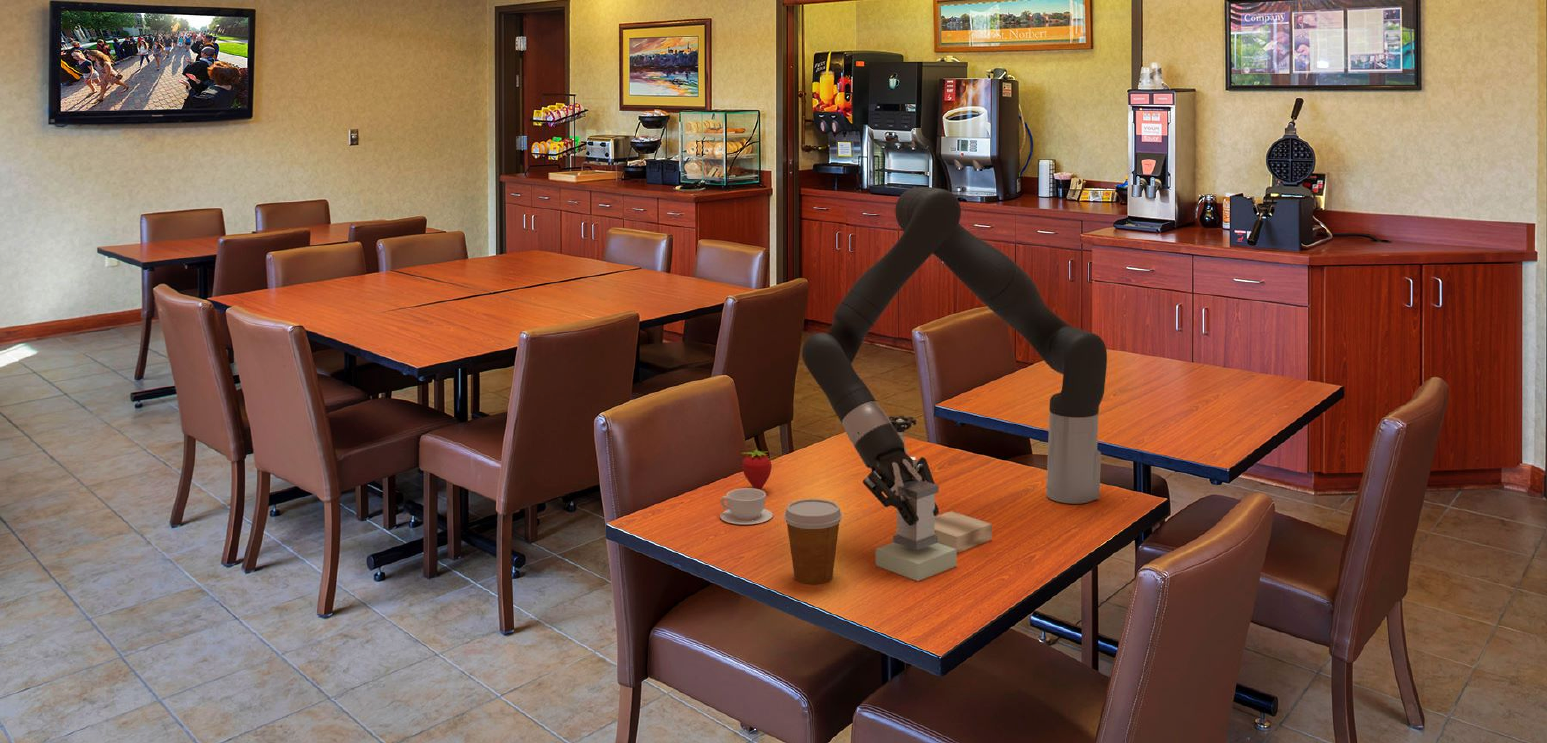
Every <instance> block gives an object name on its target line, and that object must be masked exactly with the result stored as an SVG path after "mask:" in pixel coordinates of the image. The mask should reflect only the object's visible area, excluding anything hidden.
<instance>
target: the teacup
mask: <svg viewBox="0 0 1547 743" xmlns="http://www.w3.org/2000/svg"><path fill="white" fill-rule="evenodd" d="M766 498H767V494H766V492H765V491H764V490H762V489H761V490H759V489H754V488H753V487H751V488H750V487H749V488H748V487H745V488H743V487H742V488H736V489H732V490H730V491H728V492H727V493H726V495H723V496H722V497H721V499H720V504H721V506H722V507H723V508H724V509H726V510H724V511H723V512H721V513H720V515H719V517H720V519H721V520H722V521H724V522H726V523H728V524H732V525H733V524H734V525H755V524H762V523H764V522H767V521H769V520H771V519H772V518H773V516H774V515H773V514H774V513H773V512H772V511H771V510H769V509H767V508H765V505H766ZM724 500H726V502H727V504H726V503H725V502H724ZM759 515H760V516H759ZM752 520H753V521H752Z"/></svg>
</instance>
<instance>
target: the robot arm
mask: <svg viewBox="0 0 1547 743" xmlns="http://www.w3.org/2000/svg"><path fill="white" fill-rule="evenodd" d="M961 209H962V208H961V203H960V201H959V200H958V198H957V197H956V195H955V194H953V193H952V192H950V191H949V190H947V189H942V188H939V187H936V188H935V187H928V186H927V187H926V186H921V187H920V186H918V187H914V188H910V189H907V190H905V191H904V192H902V193H901V195H900V196H899V197H898V198H897V200H896V203H895V209H894V210H895V212H894V213H895V218H896V222H897V225H898V226H899V227H900V229H901V230H902V232H903V233H902V235H901V236H900V237H899V239H898V240H897V241H896V243H894V245H893V246H892V247H891V248H890V249H889V250H888V251H887V252H886V253H885V255H883V256H882V257H881V258H880V259H879V260H878V261H876V262H875V263H874V264H873V265H872V266H871V267H869V268H868V269H867V270H866V271H865V272H864V273H863V274H862V275H861V276H860V277H859V278H858V279H857V280H856V281H855V282H854V283H853V284H852V286H851V287H850V289H849V290H848V291H847V293H846V294H845V295H844V297H843V298H842V300H841V301H840V303H839V304H838V305H837V307H836V308H835V310H834V312H833V316H832V319H833V320H832V321H833V322H832V325H831V327H830V328H829V330H828V332H827V333H824V332H817V333H814V334H812V335H810V336H809V337H808V338H807V339H806V340H805V342H804V344H802V345H803V346H802V349H801V359H802V362H803V363H804V366H806V368H807V370H808V372H809V373H810V375H811V376H812V377H813V379H814V380H815V382H816V383H817V384H818V386H819V387H820V388H821V390H822V392H823V393H824V395H825V396H826V398H827V400H828V402H829V404H830V406H831V407H832V409H833V411H834V413H835V414H836V416H837V418H838V419H839V421H840V423H841V425H842V426H843V428H844V431H845V433H846V435H847V437H848V439H849V440H850V442H851V444H852V445H853V447H854V449H855V451H856V452H857V454H858V455H859V457H860V459H861V460H862V462H863V464H864V465H865V467H866V468H868V469H871V471H870V473H869V474H868V475H867V476H866V477H865V478H864V479H863V480H862V484H863V485H864V486H865V487H866V488H867V489H868V490H869V492H871V494H872V495H873V496H874V497H875V498H876V499H877V500H878V501H879V503H881V505H883V506H884V508H888V507H890V506H891V507H893V508H894V509H896V510H897V509H898V511H899V513H900V514H901V516H902V518H903V519H904V521H905V522H906V523H908V525H909V526H912V525H914V524H915V523H916V522H917V521H918V520H919V518H918V516H917V515H916V513H915V511H914V510H913V508H912V507H911V505H910V503H909V502H908V500H907V501H905V500H906V497H905V495H903V494H902V493H901V491H900V489H899V487H901V486H904V484H903V482H905V481H910V480H912V479H914V481H920V480H922V481H926V482H929V483H932V484H936V483H935V481H934V478H933V476H932V472H931V470H930V467H929V464H928V461H927V459H926V458H925V457H922V456H921V457H920V458H919V459H916V460H912V459H911V457H912V456H910V455H908V453H907V454H906V453H905V450H904V446H905V442H903V441H902V439H901V437H900V436H899V434H898V432H897V431H896V429H895V428H894V426H893V425H892V423H891V421H890V420H889V417H888V415H887V413H886V412H885V410H883V408H882V406H880V405H879V403H878V402H877V400H876V399H875V397H874V396H873V394H872V392H871V391H870V389H869V388H868V386H867V385H866V383H865V382H864V381H863V380H862V378H861V377H860V376H859V375H858V374H857V372H856V371H855V369H854V367H853V365H852V364H853V362H854V360H855V358H856V356H857V354H858V352H859V350H860V348H861V346H862V344H863V342H864V340H865V337H866V335H867V334H868V333H869V332H870V330H871V329H872V328H873V327H874V325H875V324H876V322H877V321H878V320H879V318H880V316H881V315H882V313H883V312H884V311H885V310H886V309H887V307H888V305H889V304H890V303H891V302H892V300H893V299H894V298H895V296H896V295H897V294H898V292H899V291H900V290H901V288H902V287H903V286H904V285H905V284H906V283H907V282H908V280H909V279H910V278H911V277H912V276H913V275H914V273H915V272H916V271H917V270H918V269H919V268H920V267H921V266H922V265H923V264H924V262H926V261H927V260H928V259H929V258H930V257H931V255H932V254H933V255H934V256H935V257H937V258H938V259H939V260H940V261H941V262H942V263H943V264H944V265H945V266H946V267H947V268H948V269H949V270H950V271H951V272H952V273H953V274H954V275H955V276H956V277H957V278H958V280H959V281H960V282H962V283H963V285H965V286H966V287H967V288H968V289H969V290H970V291H971V292H972V293H973V294H974V295H975V296H976V297H977V298H978V300H980V302H982V303H983V304H984V305H985V306H986V307H987V308H988V309H989V310H991V311H992V312H993V313H994V314H995V315H997V316H998V317H999V318H1000V319H1001V320H1002V321H1004V323H1006V324H1007V325H1008V326H1010V327H1011V328H1013V329H1014V330H1015V331H1016V332H1018V333H1019V334H1020V335H1021V336H1022V337H1023V338H1024V339H1025V340H1026V341H1027V342H1028V343H1029V345H1030V346H1031V347H1032V348H1033V350H1035V352H1036V353H1037V354H1038V355H1039V356H1040V357H1041V359H1042V360H1043V361H1044V362H1045V363H1046V365H1047V366H1049V367H1050V369H1052V370H1053V371H1055V372H1057V373H1058V374H1061V375H1063V376H1062V385H1061V391H1060V392H1056V393H1053V395H1051V396H1050V398H1049V412H1048V413H1049V414H1048V415H1049V416H1048V417H1049V418H1048V440H1047V441H1048V442H1047V443H1048V444H1047V468H1046V469H1047V470H1046V471H1047V473H1046V485H1045V486H1046V497H1047V498H1048V499H1050V500H1051V501H1054V502H1057V503H1063V504H1069V505H1070V504H1071V505H1072V504H1075V505H1076V504H1077V505H1079V504H1080V505H1081V504H1086V503H1090V502H1093V501H1095V500H1099V499H1100V489H1101V488H1100V486H1101V485H1100V484H1101V464H1102V459H1101V458H1102V452H1101V451H1100V450H1098V438H1099V436H1098V434H1099V433H1098V432H1099V412H1100V404H1101V402H1102V401H1103V398H1104V394H1105V386H1106V378H1107V376H1106V375H1107V368H1108V367H1107V365H1108V352H1107V347H1106V344H1105V341H1104V340H1103V339H1102V338H1101V337H1100V336H1099V335H1098V334H1095V333H1093V332H1091V331H1087V330H1084V329H1080V328H1077V327H1074V326H1073V325H1070V324H1069V323H1067V322H1065V321H1064V320H1063V319H1061V318H1060V317H1059V316H1058V315H1057V314H1056V313H1054V312H1053V311H1052V310H1051V309H1050V308H1049V307H1048V306H1047V305H1046V304H1045V301H1044V300H1043V298H1042V297H1041V294H1040V292H1039V289H1038V287H1037V285H1036V284H1035V282H1034V281H1033V280H1032V278H1031V277H1030V276H1029V274H1027V273H1026V271H1024V270H1023V269H1022V268H1021V266H1019V265H1018V263H1016V261H1014V260H1013V259H1011V258H1010V257H1009V256H1008V255H1006V254H1005V253H1004V252H1002V251H1001V250H999V249H998V248H996V247H994V246H993V245H991V244H990V243H988V242H986V241H985V240H982V239H980V237H978V236H976V235H974V233H971V232H970V231H968V230H967V229H966V228H965V227H964V226H963V225H961V224H960V220H961V217H962V210H961ZM905 447H906V446H905ZM895 491H896V493H895ZM939 513H940V510H939V506H938V505H937V504H936V502H935V509H934V516H938V515H940V514H939Z"/></svg>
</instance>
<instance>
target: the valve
mask: <svg viewBox="0 0 1547 743" xmlns="http://www.w3.org/2000/svg"><path fill="white" fill-rule="evenodd" d="M888 418H889V420H890V421H891V423H892V425H893V426H894V428H895V429H896V431H897V433H898V434H899V436H900V437H901V439H902V441H903V442H904V443H905V442H906V441H905V440H906V439H905V438H906V437H905V435H903V434H904V433H905V432H906V431H908V430H909V429H911V428H912V425H913V426H916V425H917V419H915V418H914V417H913V416H907V417H905V416H904V415H903V414H902V415H899V416H894V415H890V416H889V417H888ZM904 450H905V453H906V454H907V455H908V448H907V447H906V446H904ZM910 457H911V459H912V460H917V457H916V456H910Z"/></svg>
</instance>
